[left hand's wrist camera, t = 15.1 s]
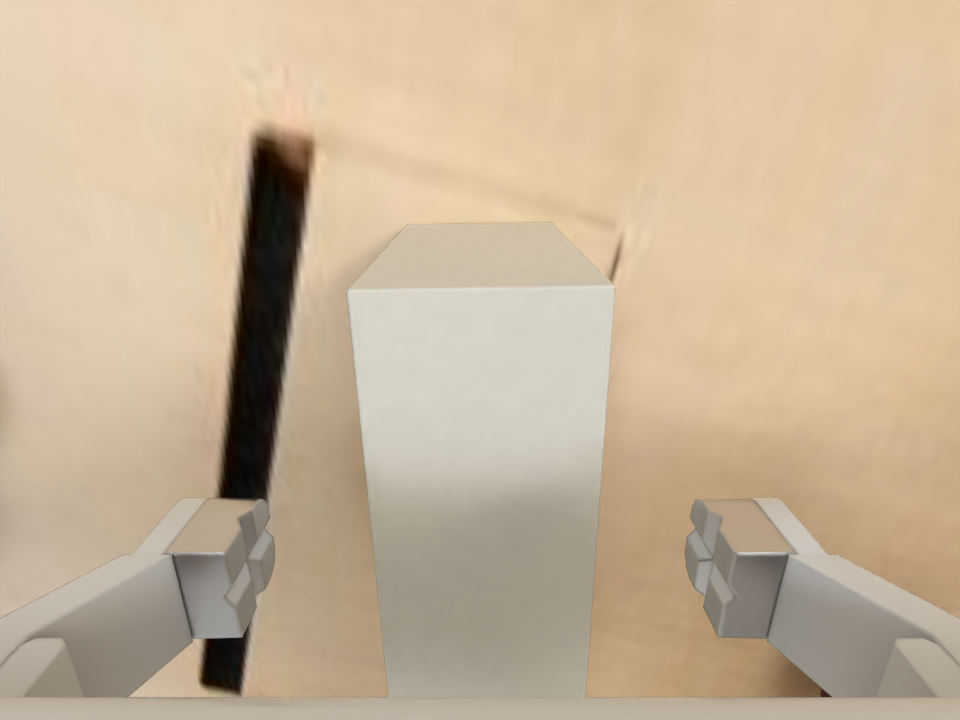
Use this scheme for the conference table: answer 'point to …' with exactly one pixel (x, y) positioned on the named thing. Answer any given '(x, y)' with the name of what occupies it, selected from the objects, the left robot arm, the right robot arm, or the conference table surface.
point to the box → (483, 454)
